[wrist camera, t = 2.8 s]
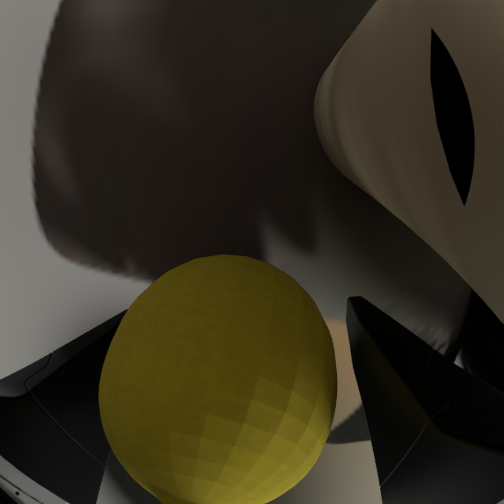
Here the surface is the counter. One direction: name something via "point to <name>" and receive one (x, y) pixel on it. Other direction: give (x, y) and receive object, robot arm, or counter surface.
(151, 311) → the lemon
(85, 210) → the counter surface
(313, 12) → the counter surface
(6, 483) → the robot arm
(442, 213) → the birch peg
